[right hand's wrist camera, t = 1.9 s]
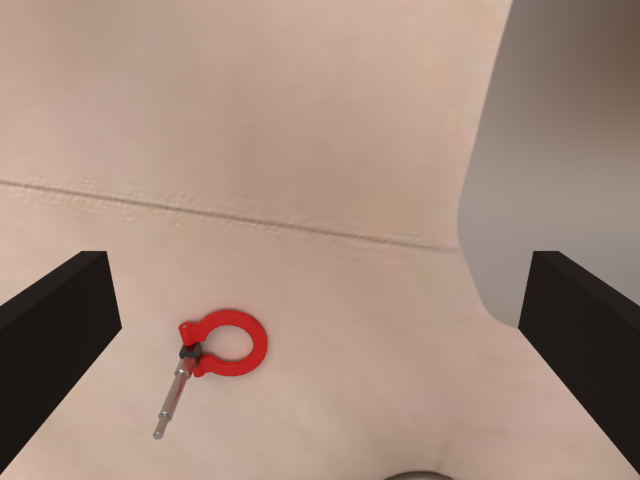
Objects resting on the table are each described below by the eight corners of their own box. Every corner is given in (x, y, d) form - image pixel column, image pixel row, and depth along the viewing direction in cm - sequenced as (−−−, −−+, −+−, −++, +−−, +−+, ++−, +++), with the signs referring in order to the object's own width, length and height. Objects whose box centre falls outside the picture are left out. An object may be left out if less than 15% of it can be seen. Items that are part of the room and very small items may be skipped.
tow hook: (259, 302, 45) (177, 315, 45) (244, 381, 33) (132, 399, 33) (273, 364, 48) (196, 376, 48) (265, 457, 36) (162, 473, 36)
